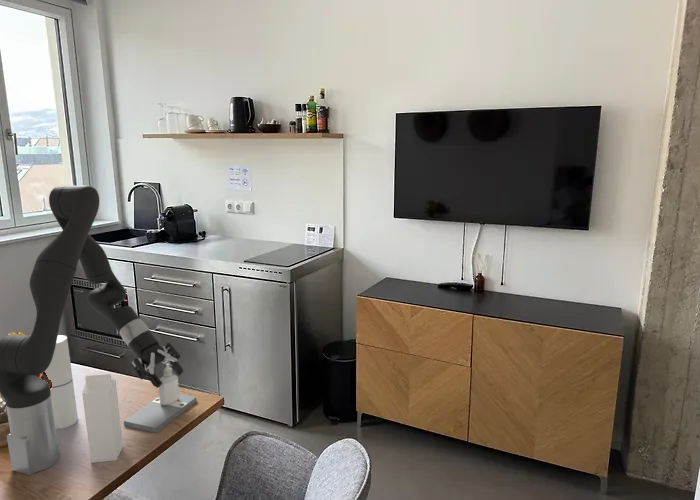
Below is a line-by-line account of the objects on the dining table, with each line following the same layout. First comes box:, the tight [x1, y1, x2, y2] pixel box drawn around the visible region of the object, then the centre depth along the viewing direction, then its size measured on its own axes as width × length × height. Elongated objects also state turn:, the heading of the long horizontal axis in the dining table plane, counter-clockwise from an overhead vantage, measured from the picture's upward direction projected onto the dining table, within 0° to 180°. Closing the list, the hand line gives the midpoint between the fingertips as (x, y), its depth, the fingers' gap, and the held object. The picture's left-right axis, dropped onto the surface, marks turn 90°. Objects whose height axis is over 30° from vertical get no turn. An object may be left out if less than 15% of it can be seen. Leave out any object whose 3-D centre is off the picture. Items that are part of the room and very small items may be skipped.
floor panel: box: [123, 393, 197, 433], centre depth 145 cm, size 18×11×2 cm, turn 161°
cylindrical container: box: [45, 334, 79, 430], centre depth 138 cm, size 7×7×25 cm
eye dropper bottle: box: [158, 364, 180, 406], centre depth 147 cm, size 4×6×12 cm
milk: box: [81, 373, 124, 464], centre depth 123 cm, size 6×6×22 cm
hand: (170, 379), depth 146 cm, fingers open, 8 cm apart
